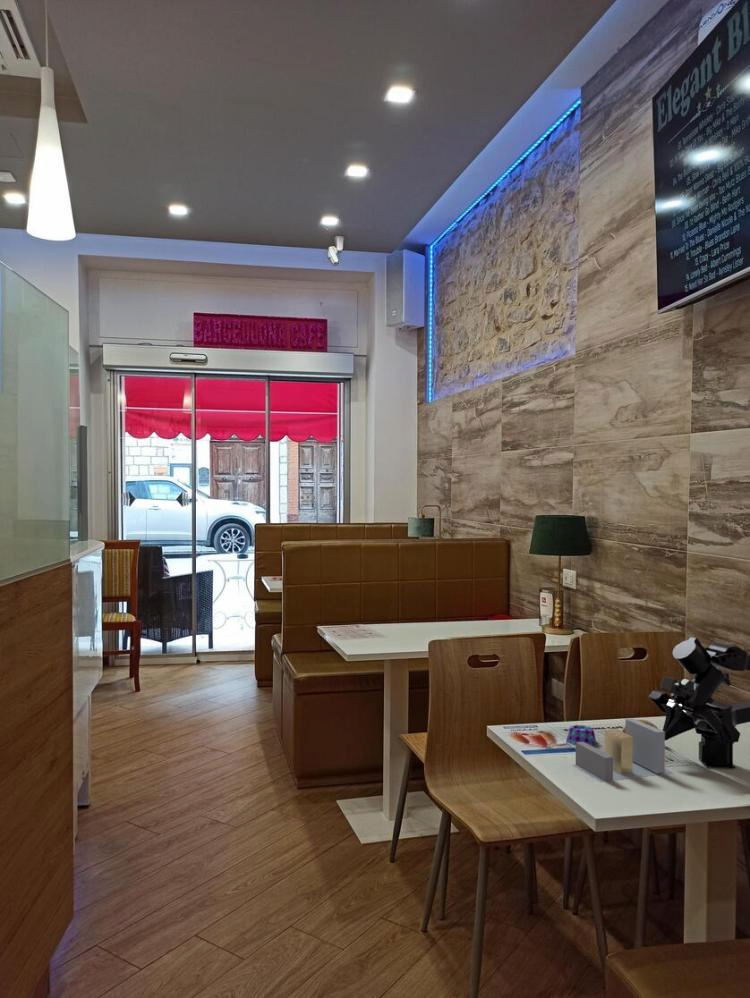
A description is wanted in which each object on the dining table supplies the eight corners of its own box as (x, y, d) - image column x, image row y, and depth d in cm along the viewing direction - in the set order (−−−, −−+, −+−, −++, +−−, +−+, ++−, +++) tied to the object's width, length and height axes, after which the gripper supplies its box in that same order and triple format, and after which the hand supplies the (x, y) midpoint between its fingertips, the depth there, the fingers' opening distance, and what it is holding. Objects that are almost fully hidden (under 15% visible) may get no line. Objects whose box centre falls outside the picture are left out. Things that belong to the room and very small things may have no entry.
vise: (641, 763, 175) (641, 735, 175) (673, 779, 165) (673, 750, 165) (571, 771, 169) (571, 742, 169) (600, 788, 159) (601, 758, 159)
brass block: (615, 764, 170) (615, 729, 170) (632, 773, 164) (632, 736, 164) (604, 765, 169) (604, 730, 169) (621, 774, 163) (621, 738, 164)
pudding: (611, 746, 189) (611, 725, 189) (599, 759, 179) (599, 737, 179) (564, 738, 195) (564, 718, 195) (550, 751, 185) (550, 729, 185)
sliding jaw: (632, 756, 174) (632, 718, 175) (664, 772, 164) (664, 731, 164) (625, 757, 174) (625, 719, 174) (657, 773, 163) (657, 732, 164)
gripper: (654, 656, 181) (616, 705, 178) (711, 672, 164) (670, 727, 160) (681, 686, 184) (644, 735, 180) (740, 705, 166) (700, 760, 162)
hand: (663, 738), depth 171 cm, fingers closed
